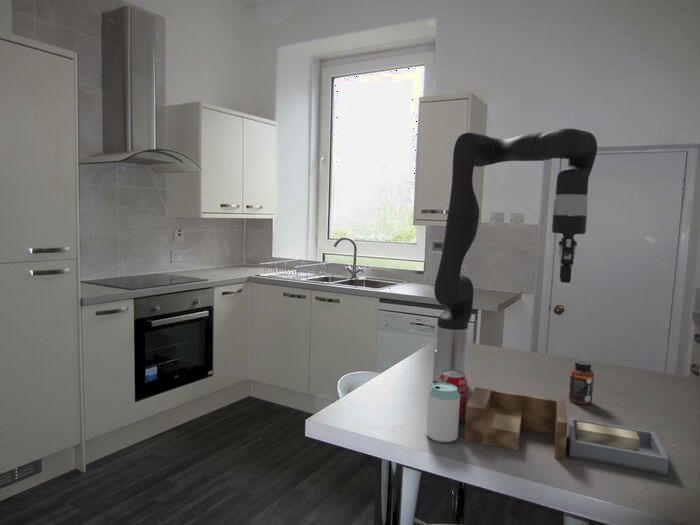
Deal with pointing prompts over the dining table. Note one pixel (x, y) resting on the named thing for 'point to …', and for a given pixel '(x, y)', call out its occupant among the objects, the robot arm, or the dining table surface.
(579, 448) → the tray
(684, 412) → the dining table surface
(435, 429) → the can
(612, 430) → the slab
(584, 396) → the supplement bottle
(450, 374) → the soda can
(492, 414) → the open wooden box frame
